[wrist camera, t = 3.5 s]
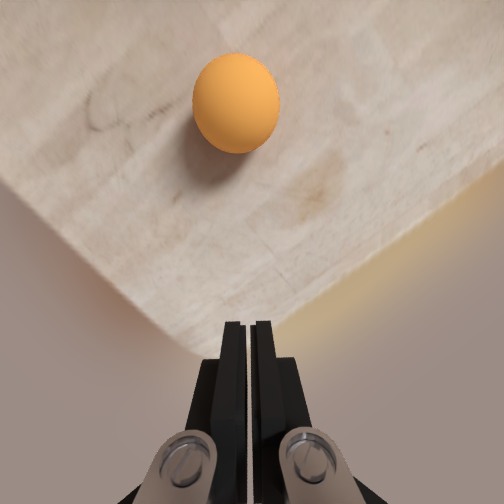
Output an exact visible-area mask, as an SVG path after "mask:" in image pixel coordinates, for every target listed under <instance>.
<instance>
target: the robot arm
mask: <svg viewBox="0 0 504 504" xmlns="http://www.w3.org/2000/svg"><path fill="white" fill-rule="evenodd" d="M250 333H251V399H252V448H253V449H252V451H253V496H254V504H388V503H387V502H385V501H384V500H383V499H381V498H380V497H379V496H378V495H376V494H375V493H374V492H373V491H371V490H370V489H369V488H368V487H366V486H365V485H364V484H363V483H361V482H360V481H358V480H357V479H356V478H355V477H353V476H352V474H351V472H350V470H349V468H348V465H347V463H346V461H345V459H344V457H343V455H342V453H341V451H340V449H339V448H338V446H337V445H336V443H335V442H334V441H333V440H332V439H331V438H330V437H329V436H328V435H327V434H325V433H324V432H322V431H320V430H318V429H315V428H312V425H311V421H310V417H309V413H308V409H307V405H306V401H305V397H304V393H303V389H302V385H301V381H300V377H299V373H298V369H297V365H296V361H295V359H294V357H288V358H287V357H286V358H276V353H275V347H274V341H273V334H272V327H271V321H256V325H250ZM118 504H247V352H246V325H240V321H235V322H225V327H224V333H223V340H222V346H221V353H220V359H204V360H202V363H201V367H200V371H199V375H198V379H197V383H196V387H195V391H194V395H193V399H192V403H191V407H190V411H189V415H188V419H187V423H186V427H185V431H182V432H179V433H177V434H175V435H174V436H172V437H170V438H169V439H168V440H167V441H166V442H165V443H164V444H163V445H162V446H161V447H160V449H159V450H158V452H157V454H156V455H155V457H154V459H153V461H152V463H151V465H150V468H149V470H148V472H147V474H146V476H145V478H144V480H143V482H142V484H140V485H139V486H138V487H137V488H136V489H134V490H133V491H132V492H131V493H130V494H129V495H127V496H126V497H125V498H124V499H123V500H121V501H120V502H119V503H118Z"/></svg>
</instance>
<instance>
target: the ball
mask: <svg viewBox="0 0 504 504" xmlns="http://www.w3.org/2000/svg"><path fill="white" fill-rule="evenodd" d="M192 102H193V113H194V117H195V120H196V123H197V126H198V127H199V129H200V131H201V133H202V134H203V136H204V137H205V138H206V139H207V140H208V141H209V142H210V143H211V144H212V145H213V146H215V147H216V148H218V149H220V150H222V151H225V152H229V153H237V154H238V153H246V152H249V151H252V150H254V149H256V148H258V147H259V146H261V145H262V144H263V143H264V142H265V141H266V140H267V139H268V138H269V137H270V135H271V134H272V132H273V131H274V128H275V126H276V123H277V120H278V116H279V110H280V99H279V93H278V89H277V86H276V83H275V81H274V79H273V77H272V75H271V74H270V72H269V71H268V70H267V68H266V67H265V66H264V65H263V64H261V63H260V62H259V61H258V60H256V59H254V58H252V57H250V56H247V55H244V54H239V53H231V54H225V55H222V56H220V57H217V58H216V59H214V60H212V61H211V62H210V63H209V64H208V65H207V66H206V67H205V68H204V69H203V70H202V72H201V73H200V75H199V77H198V79H197V81H196V84H195V86H194V91H193V99H192Z"/></svg>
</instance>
